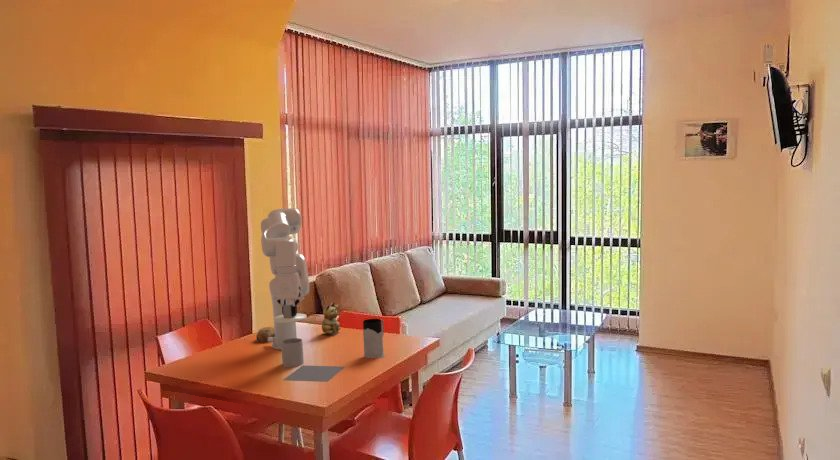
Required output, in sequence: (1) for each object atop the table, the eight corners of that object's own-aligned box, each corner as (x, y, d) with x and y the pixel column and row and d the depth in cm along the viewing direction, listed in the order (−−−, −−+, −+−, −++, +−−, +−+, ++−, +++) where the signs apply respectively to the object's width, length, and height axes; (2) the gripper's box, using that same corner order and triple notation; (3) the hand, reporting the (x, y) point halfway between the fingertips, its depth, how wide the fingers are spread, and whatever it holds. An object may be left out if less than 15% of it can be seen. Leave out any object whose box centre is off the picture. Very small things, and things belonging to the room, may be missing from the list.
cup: (306, 362, 258) (304, 338, 257) (300, 368, 250) (298, 343, 249) (286, 362, 259) (284, 338, 258) (279, 368, 250) (278, 343, 250)
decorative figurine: (333, 336, 297) (331, 305, 296) (317, 335, 300) (315, 304, 299) (342, 331, 306) (340, 301, 305) (327, 330, 309) (325, 300, 308)
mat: (282, 381, 233) (282, 380, 233) (302, 366, 251) (302, 365, 251) (327, 383, 229) (327, 381, 229) (345, 368, 247) (345, 366, 247)
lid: (267, 323, 248) (266, 307, 247) (282, 315, 260) (281, 301, 260) (298, 323, 244) (297, 307, 244) (311, 315, 257) (310, 301, 257)
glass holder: (359, 358, 259) (357, 322, 257) (375, 349, 271) (373, 315, 270) (378, 360, 255) (376, 323, 254) (394, 350, 268) (392, 315, 267)
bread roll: (256, 347, 299) (248, 334, 296) (272, 334, 306) (265, 320, 303) (268, 350, 293) (260, 336, 289) (284, 336, 299) (277, 323, 296)
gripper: (263, 272, 249) (266, 317, 251) (301, 271, 245) (305, 317, 247) (272, 269, 256) (275, 313, 258) (309, 268, 252) (312, 313, 254)
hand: (289, 315), depth 252 cm, fingers closed on lid, 3 cm apart
